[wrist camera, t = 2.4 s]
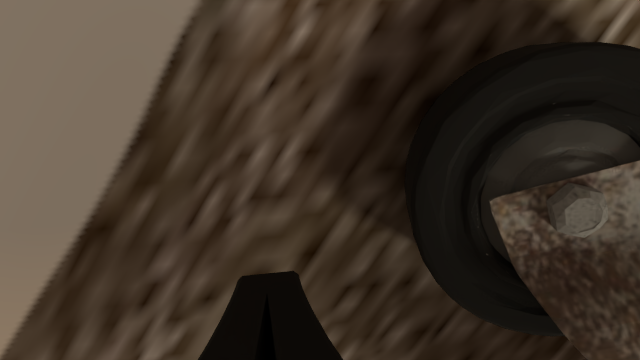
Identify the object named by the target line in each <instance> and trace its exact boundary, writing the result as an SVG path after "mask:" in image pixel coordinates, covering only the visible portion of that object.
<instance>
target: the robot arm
mask: <svg viewBox="0 0 640 360" xmlns="http://www.w3.org/2000/svg"><path fill="white" fill-rule="evenodd" d="M198 360H343V359H342V357H341V356H340V354H339V353H338V352H337V350H336V349H335V347H334V346H333V344H332V343H331V341H330V339H329V338H328V336H327V335H326V333H325V331H324V330H323V328H322V326H321V324H320V323H319V321H318V319H317V318H316V316H315V314H314V312H313V310H312V308H311V306H310V304H309V302H308V300H307V298H306V296H305V293H304V291H303V288H302V286H301V282H300V279H299V275H298V274H297V273H296V272H294V271H289V272H279V273H269V274H259V275H249V276H242V277H241V278H240V279H239V280H238V282H237V285H236V288H235V290H234V292H233V295H232V297H231V299H230V302H229V304H228V306H227V308H226V310H225V312H224V314H223V316H222V318H221V320H220V322H219V324H218V326H217V327H216V329H215V331H214V333H213V335H212V337H211V339H210V340H209V342H208V344H207V346H206V347H205V349H204V351H203V352H202V354H201V355H200V357H199V359H198Z"/></svg>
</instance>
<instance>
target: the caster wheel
mask: <svg viewBox="0 0 640 360" xmlns="http://www.w3.org/2000/svg"><path fill="white" fill-rule="evenodd" d="M405 193H406V201H407V208H408V212H409V217H410V221H411V226H412V230H413V235H414V237H415V240H416V243H417V246H418V248H419V251H420V254H421V256H422V259H423V261H424V263H425V265H426V266H427V268H428V269H429V271H430V272H431V274H432V276H433V277H434V279H435V280H436V282H437V283H438V284H439V285H440V286H441V287H442V289H443V290H444V291H445V292H446V293H447V294H448V295H449V296H450V297H451V298H452V299H453V300H454V301H456V302H457V303H458V304H459V305H460V306H462V307H463V308H465V309H466V310H468V311H469V312H471V313H472V314H474V315H476V316H477V317H479V318H481V319H483V320H485V321H487V322H490V323H492V324H495V325H498V326H500V327H503V328H505V329H509V330H514V331H519V332H523V333H528V334H532V335H543V336H566V337H567V338H568V340H569V341H570V342H571V343H572V344H573V345H574V346H575V347H576V348H577V350H578V351H579V352H580V353H581V354H582V355H583V356H584V357H585V358H586V359H587V360H640V49H638V48H635V47H631V46H626V45H618V44H610V43H602V42H578V43H551V44H541V45H532V46H526V47H522V48H519V49H515V50H512V51H509V52H505V53H503V54H501V55H499V56H496V57H494V58H492V59H490V60H487V61H485V62H483V63H481V64H479V65H477V66H476V67H474V68H473V69H471V70H470V71H469V72H467V73H466V74H464V75H463V76H462V77H460V78H459V79H457V80H456V81H454V82H453V83H452V84H451V85H450V86H449V87H448V88H447V89H446V90H445V91H444V92H443V93H442V94H441V95H440V96H439V97H438V98H437V100H436V101H435V102H434V104H433V105H432V107H431V108H430V109H429V111H428V112H427V113H426V115H425V116H424V118H423V119H422V121H421V124H420V126H419V128H418V130H417V132H416V134H415V137H414V139H413V141H412V143H411V146H410V150H409V154H408V158H407V163H406V174H405Z"/></svg>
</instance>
